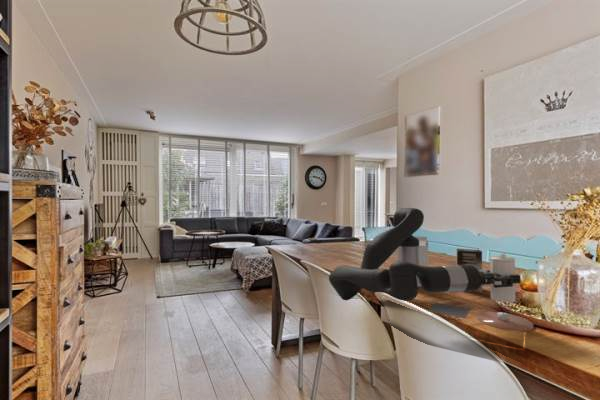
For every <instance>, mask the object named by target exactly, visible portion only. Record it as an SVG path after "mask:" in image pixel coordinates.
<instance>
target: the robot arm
mask: <svg viewBox="0 0 600 400" xmlns="http://www.w3.org/2000/svg"><path fill="white" fill-rule="evenodd" d="M424 220H425V216H424V213H423V211H422V210H420V209H418V208H413V207H409V208H408V207H404V208H403V207H402V208H401V207H400V208H397V210H395V212H394V214H393V227H392V228H389V229H386V230H385V231H382V232H381V233H379V234H378V235H376V236H375V237H374V238H373V239H372V240H371V241H369V242H368V244H367V245H366V246H365V249H364V252H363V257H362V261H361V266H360V267H358V266H351V265H347V264H345V265H344V264H343V265H339V266H338V267H336V268H334V269H333V270H332V271H331V272H330V273H329V274H328V281H329V283H330V285H331V286H332V288H333V289H334V290H335V292H336V293H337V295H338V296H339V298H341V300H342V301H349V300H352V299H353V298H355V296H357V295H358V294H359V292H360V291H362V289H363V290H366V291H368V292H372V293H380V294H381V293H383V294H386V295H388V296H391V297H392V298H394V299H397V300H399V301H404V302H407V301H413V300H414V299H415V298H416V297H418V294H419V288H420V287H422V289H423V290H424V292H426V293H447V292H448V293H466V292H467V293H469V292H473V291H477V290H478V289H479V287H480V286H481V285H482V287H490V285H492V286H494V287H495V288H500V287H512V286H513V283H515V284H521V281H522V276H521V275H519V274H515V275H500V274H499V273H491V272H490V269H484V268H482V269H481V268H480V269H477V268H476V267H474V266H473V265H457V264H449V265H442V266H441V265H439V266H438V265H437V266H429V267H426V266H420V258H419V240H418V239H417V238H416V237H414V236H415V235H413V234H414V233H416V232H417V231H418V230H419V229H420V228H421V227H422V225H423V223H424ZM395 252H396V261H394V262H392V263H391V265H389V268H380V267H382V265H383V264H384V263H386V261H387V260H388V259H389V258H391V256H392V255H393V254H394V253H395ZM494 275H496V277H495V278H494ZM473 293H474V292H473Z"/></svg>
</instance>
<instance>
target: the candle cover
mask: <svg viewBox="0 0 600 400" xmlns="http://www.w3.org/2000/svg"><path fill="white" fill-rule="evenodd" d="M489 270H490V272H491V273H499V274H500V275H516V259H515V258H514V257H509V256H507V255H506V254H505V253H502V252H500V253H499V254H498V256H490V257H489ZM495 277H496V275H494V278H495ZM489 287H490V288H489V290H490V299H491V300H492V301H496V302H502V303H515V302H516V298H517V297H516V283H513V286H512V287H500V288H495V287H494V286H492V285H489Z"/></svg>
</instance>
